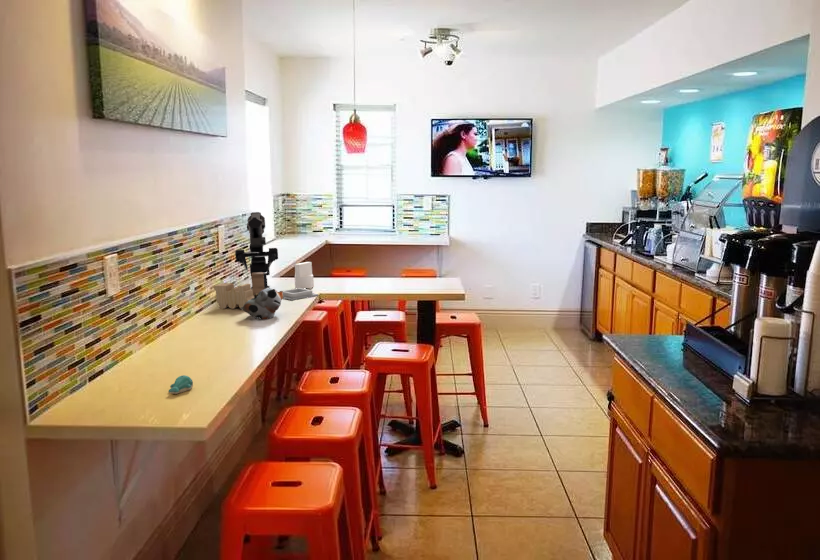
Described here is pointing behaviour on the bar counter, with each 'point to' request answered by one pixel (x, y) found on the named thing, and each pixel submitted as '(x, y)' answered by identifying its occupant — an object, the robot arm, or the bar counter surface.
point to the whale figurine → (181, 385)
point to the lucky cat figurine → (264, 304)
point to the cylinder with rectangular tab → (304, 275)
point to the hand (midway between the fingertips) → (257, 269)
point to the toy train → (232, 295)
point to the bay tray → (298, 294)
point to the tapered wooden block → (257, 282)
